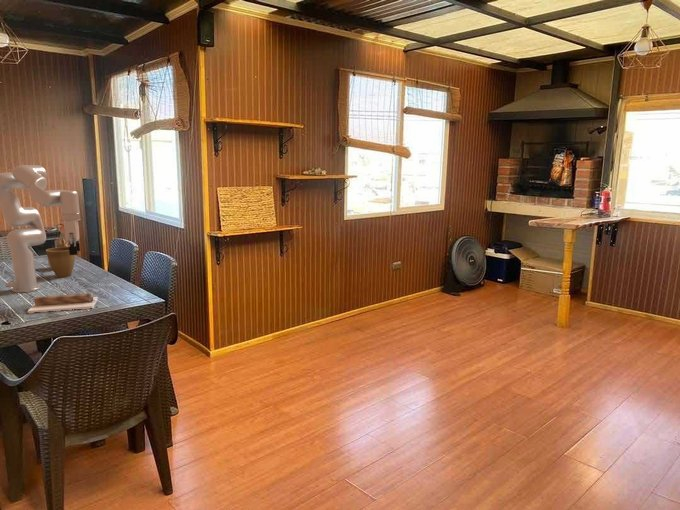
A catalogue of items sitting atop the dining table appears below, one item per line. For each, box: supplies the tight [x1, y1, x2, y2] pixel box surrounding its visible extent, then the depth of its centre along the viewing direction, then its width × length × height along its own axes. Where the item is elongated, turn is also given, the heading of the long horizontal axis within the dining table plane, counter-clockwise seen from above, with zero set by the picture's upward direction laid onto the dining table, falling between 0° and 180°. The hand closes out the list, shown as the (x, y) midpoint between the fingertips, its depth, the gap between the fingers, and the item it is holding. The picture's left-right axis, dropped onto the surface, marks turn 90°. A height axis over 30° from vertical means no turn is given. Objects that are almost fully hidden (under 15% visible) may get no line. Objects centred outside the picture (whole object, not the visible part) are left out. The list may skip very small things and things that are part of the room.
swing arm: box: [33, 292, 94, 305], centre depth 228 cm, size 24×3×3 cm, turn 108°
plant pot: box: [45, 246, 76, 278], centre depth 282 cm, size 15×15×16 cm
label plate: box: [27, 296, 99, 314], centre depth 229 cm, size 26×16×2 cm, turn 108°
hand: (74, 252), depth 234 cm, fingers open, 9 cm apart
